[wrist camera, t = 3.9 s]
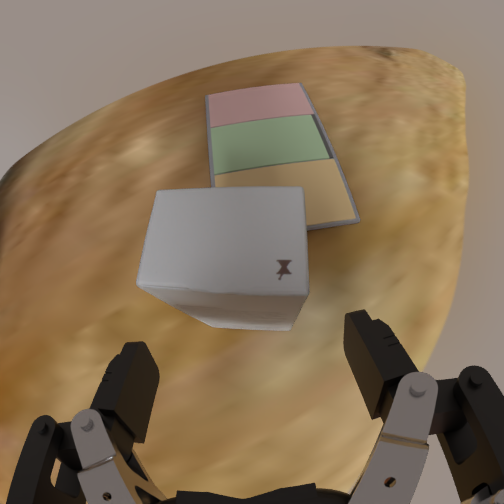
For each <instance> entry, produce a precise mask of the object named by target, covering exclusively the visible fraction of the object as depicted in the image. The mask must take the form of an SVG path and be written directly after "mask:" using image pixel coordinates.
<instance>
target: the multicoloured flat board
mask: <svg viewBox="0 0 504 504" xmlns="http://www.w3.org/2000/svg"><path fill="white" fill-rule="evenodd" d="M205 100H206V119H207V135H208V150H209V164H210V177H211V188H213V187H244V186H300V187H303V188H304V193H305V207H306V224H307V231H309V230H315V229H321V228H328V227H334V226H341V225H347V224H354V223H359V222H360V217H359V214H358V211H357V209H356V206H355V203H354V200H353V197H352V195H351V192H350V189H349V187H348V184H347V181H346V179H345V176H344V174H343V171H342V169H341V166H340V164H339V161H338V159H337V157H336V154H335V152H334V150H333V147H332V145H331V143H330V140H329V138H328V136H327V134H326V132H325V129H324V127H323V125H322V123H321V121H320V119H319V117H318V115H317V112H316V110H315V108H314V106H313V104H312V102H311V100H310V98H309V96H308V94H307V93H306V91H305V89H304V87H303V85H302V83H291V84H279V85H269V86H260V87H252V88H245V89H238V90H232V91H226V92H221V93H215V94H210V95H206V96H205Z"/></svg>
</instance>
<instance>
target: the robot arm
mask: <svg viewBox="0 0 504 504" xmlns="http://www.w3.org/2000/svg"><path fill="white" fill-rule="evenodd" d="M343 344H344V351H345V355H346V358H347V360H348V363H349V365H350V367H351V370H352V372H353V374H354V377H355V379H356V382H357V384H358V386H359V389H360V391H361V394H362V396H363V399H364V401H365V404H366V406H367V409H368V411H369V414H370V416H371V419H372V420H373V419H376V418H379V417H381V419H382V421H383V423H384V424H383V426H382V429H381V431H380V434H379V436H378V438H377V441H376V443H375V445H374V448H373V450H372V452H371V454H370V457H369V459H368V461H367V463H366V465H365V467H364V469H363V471H362V473H361V475H360V477H359V479H358V480H357V482H356V484H355V486H354V488H353V490H352V491H351V493H350V495H349V494H347V493H344V492H341V491H337V490H332V489H320V488H316V485H315V483H311V484H305V485H300V486H293V487H287V488H280V489H277V490H274V491H271V492H268V493H264V494H261V495H258V496H254V497H251V498H247V499H239V498H234V497H228V496H223V495H219V494H214V493H210V492H191V491H177V494H176V497H174V498H170V499H167V498H166V496H165V495H164V494H163V493H162V492H161V491H160V490H159V489H158V488H157V487H156V486H155V484H154V483H153V481H152V480H151V478H150V477H149V475H148V473H147V472H146V470H145V468H144V467H143V465H142V463H141V461H140V460H139V458H138V456H137V454H136V452H135V451H134V450H133V449H132V447H133V443H134V442H135V443H144V442H145V437H146V433H147V428H148V424H149V420H150V415H151V411H152V407H153V403H154V399H155V395H156V391H157V387H158V383H159V378H160V376H159V370H158V367H157V365H156V363H155V361H154V359H153V357H152V355H151V353H150V351H149V349H148V347H147V345H146V344H145V343H144V342H143V341H141V342H127V343H125V345H124V347H123V349H122V351H121V353H120V354H117V355H116V356H115V357H114V359H113V360H112V361H111V362H110V363H109V365H108V367H107V369H106V372H105V373H106V374H104V376H103V378H102V382H101V383H100V385H99V387H98V390H97V392H96V394H95V397H94V399H93V401H92V404H91V406H90V408H89V409H85V410H82V411H80V412H79V413H77V414H76V415H75V416H74V418H73V419H72V421H71V422H64V423H57V422H56V421H55V420H54V419H53V418H52V417H51V416H48V415H43V416H40V417H38V418H37V419H36V420H35V421H34V422H33V424H32V426H31V428H30V431H29V433H28V436H27V438H26V441H25V444H24V446H23V449H22V452H21V455H20V457H19V460H18V463H17V466H16V469H15V473H14V476H13V479H12V483H11V486H10V490H9V493H8V497H7V502H6V504H86V500H87V502H88V504H410V502H411V499H412V497H413V495H414V492H415V490H416V487H417V484H418V482H419V479H420V476H421V473H422V470H423V467H424V464H425V461H426V458H427V454H428V450H429V445H428V444H427V438H428V435H433V434H436V435H437V437H438V440H439V442H440V444H441V447H442V450H443V452H444V455H445V457H446V460H447V462H448V465H449V468H450V471H451V474H452V477H453V480H454V482H455V486H456V488H457V492H458V495H459V498H460V501H461V504H504V396H503V395H502V393H501V391H500V389H499V388H498V386H497V385H496V383H495V382H494V380H493V379H492V377H491V375H490V374H489V373H488V371H486V370H485V369H484V368H482V367H479V366H469V367H466V368H465V369H463V371H462V372H461V373H460V375H459V377H458V378H454V379H445V380H435V379H434V378H433V377H432V376H430V375H429V374H427V373H423V372H419V371H418V370H417V368H416V366H415V365H414V363H413V362H412V360H411V359H410V357H409V355H408V354H407V352H406V351H405V349H404V348H403V346H402V345H401V344H400V342H399V340H398V339H397V337H396V336H395V334H394V333H393V331H392V330H391V328H390V327H389V325H387V324H386V323H384V322H383V321H381V320H380V319H376V320H372V319H371V318H370V316H369V315H368V313H367V312H366V310H364V309H363V310H359V311H355V312H350V313H346V314H345V324H344V341H343ZM56 458H57V459H58V460H59V461H60V462H61V465H60V469H59V473H58V477H57V481H56V485H55V487H54V486H53V485H52V483H51V479H50V477H51V473H52V469H53V466H54V462H55V459H56Z"/></svg>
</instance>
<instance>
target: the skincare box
mask: <svg viewBox="0 0 504 504" xmlns="http://www.w3.org/2000/svg"><path fill="white" fill-rule="evenodd" d="M136 285H137V286H138V287H139V288H141V289H143V290H145V291H146V292H148V293H150V294H151V295H153V296H155V297H157V298H158V299H160V300H162V301H164V302H165V303H167V304H169V305H171V306H173V307H175V308H177V309H178V310H180V311H182V312H184V313H186V314H188V315H190V316H192V317H194V318H196V319H198V320H200V321H202V322H203V323H205V324H207V325H209V326H211V327H218V328H233V329H251V330H281V331H290V330H291V328H292V326H293V324H294V322H295V320H296V318H297V316H298V314H299V312H300V310H301V308H302V306H303V304H304V302H305V300H306V298H307V297H308V295H309V270H308V244H307V224H306V207H305V193H304V188H303V187H300V186H244V187H213V188H189V189H171V190H158V191H157V192H156V197H155V201H154V205H153V209H152V213H151V217H150V221H149V225H148V229H147V233H146V237H145V241H144V246H143V251H142V256H141V260H140V265H139V270H138V275H137V280H136Z"/></svg>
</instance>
